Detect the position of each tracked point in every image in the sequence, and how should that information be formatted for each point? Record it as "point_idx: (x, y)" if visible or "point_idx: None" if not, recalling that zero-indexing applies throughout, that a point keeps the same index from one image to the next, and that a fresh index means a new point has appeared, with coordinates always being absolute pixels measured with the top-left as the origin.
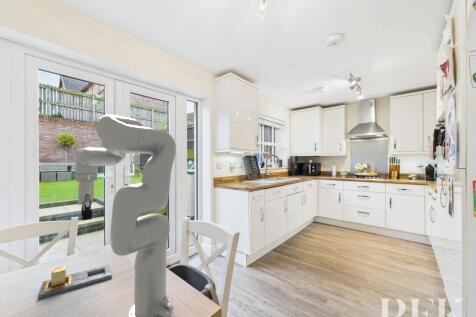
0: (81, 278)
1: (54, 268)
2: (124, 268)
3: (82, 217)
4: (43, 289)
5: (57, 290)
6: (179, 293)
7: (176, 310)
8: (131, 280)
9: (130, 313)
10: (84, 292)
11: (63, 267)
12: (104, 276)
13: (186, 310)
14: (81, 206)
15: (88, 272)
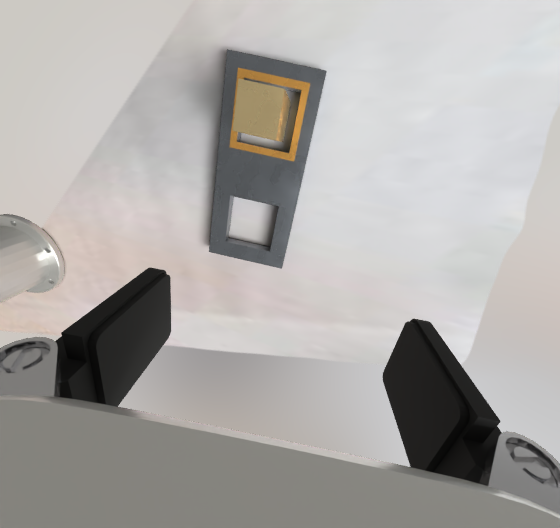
0: (248, 181)
1: (279, 95)
2: (248, 290)
3: (136, 280)
4: (258, 67)
5: (222, 107)
6: (58, 315)
7: None
8: None
9: (17, 222)
10: (186, 174)
11: (262, 128)
12: (211, 234)
13: None
14: (480, 417)
15: (278, 208)
